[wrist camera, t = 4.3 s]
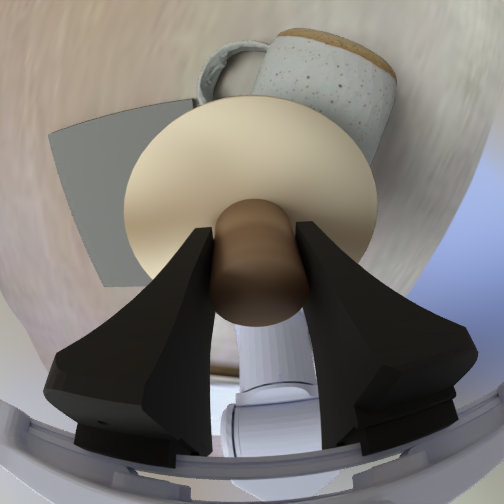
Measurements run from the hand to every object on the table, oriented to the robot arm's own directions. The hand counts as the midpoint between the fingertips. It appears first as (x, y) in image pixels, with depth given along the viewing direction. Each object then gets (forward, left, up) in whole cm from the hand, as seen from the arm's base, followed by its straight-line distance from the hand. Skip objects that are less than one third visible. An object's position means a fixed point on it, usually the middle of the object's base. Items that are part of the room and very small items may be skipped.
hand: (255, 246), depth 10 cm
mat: (-4, +9, -10) cm, 14 cm away
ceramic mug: (+4, -2, -11) cm, 12 cm away
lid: (0, 0, -2) cm, 2 cm away
